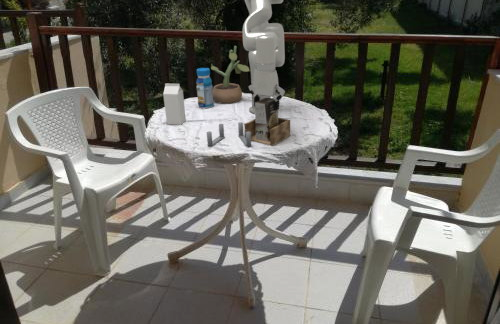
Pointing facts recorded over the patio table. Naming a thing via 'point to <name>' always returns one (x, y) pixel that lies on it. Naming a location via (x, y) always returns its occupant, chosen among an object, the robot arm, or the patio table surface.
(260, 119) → the coffee box
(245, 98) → the patio table surface
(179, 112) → the milk carton
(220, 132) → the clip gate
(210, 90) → the beverage bottle
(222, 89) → the potted plant
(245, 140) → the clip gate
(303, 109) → the patio table surface
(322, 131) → the patio table surface
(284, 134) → the wooden tray
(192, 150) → the patio table surface
